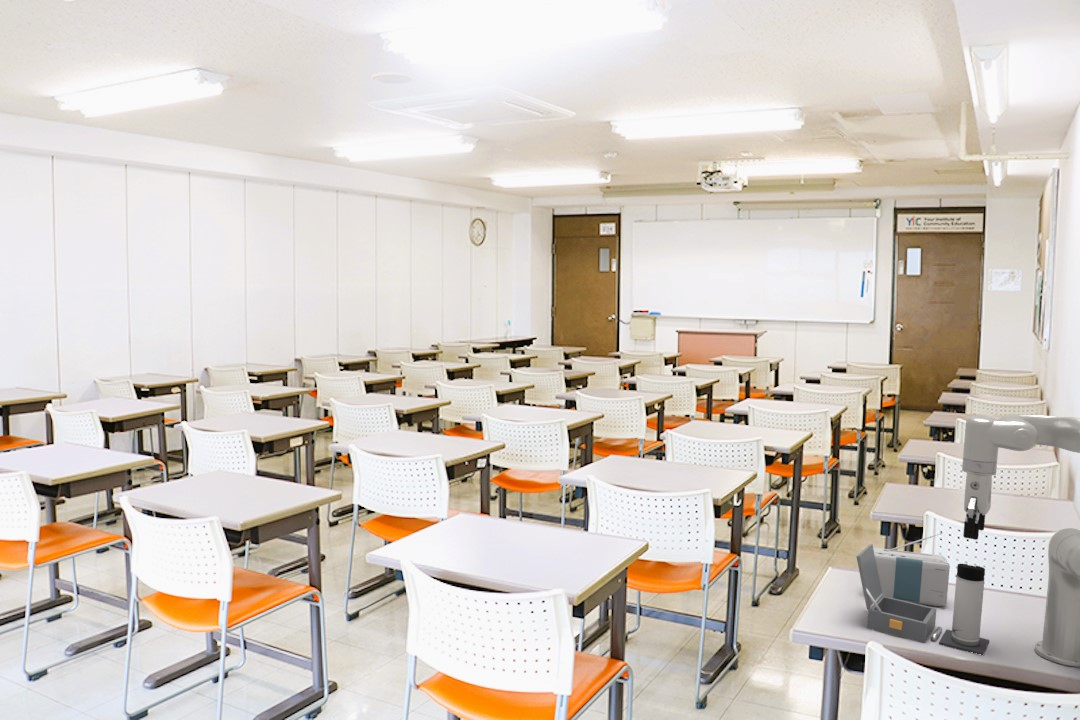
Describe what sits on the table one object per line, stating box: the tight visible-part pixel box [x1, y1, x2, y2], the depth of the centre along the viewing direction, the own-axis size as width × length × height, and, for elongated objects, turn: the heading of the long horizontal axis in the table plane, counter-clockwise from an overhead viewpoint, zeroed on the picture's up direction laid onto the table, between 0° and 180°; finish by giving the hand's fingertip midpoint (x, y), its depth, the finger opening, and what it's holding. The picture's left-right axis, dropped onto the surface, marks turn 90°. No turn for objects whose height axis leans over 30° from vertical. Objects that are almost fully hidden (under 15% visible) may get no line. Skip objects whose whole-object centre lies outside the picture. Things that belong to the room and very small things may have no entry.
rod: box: [930, 626, 943, 642], centre depth 218 cm, size 1×9×1 cm, turn 145°
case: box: [855, 543, 937, 644], centre depth 222 cm, size 18×14×19 cm
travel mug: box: [951, 563, 986, 646], centre depth 212 cm, size 6×7×20 cm
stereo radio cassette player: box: [873, 532, 951, 608], centre depth 241 cm, size 21×8×20 cm, turn 73°
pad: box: [938, 628, 990, 656], centre depth 214 cm, size 10×10×1 cm
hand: (973, 533), depth 211 cm, fingers open, 9 cm apart
